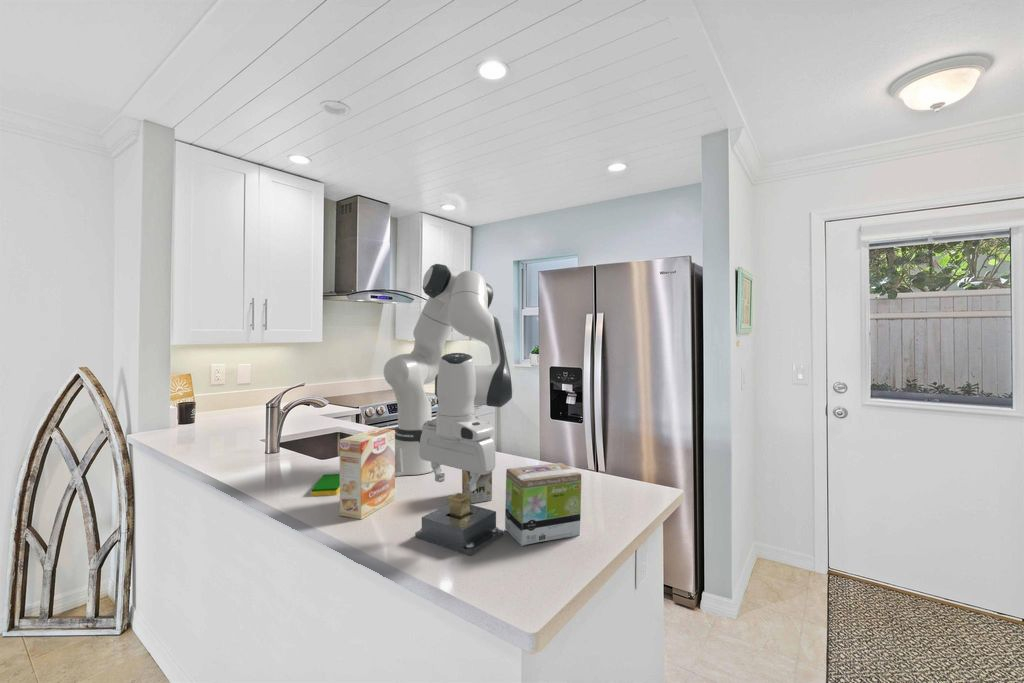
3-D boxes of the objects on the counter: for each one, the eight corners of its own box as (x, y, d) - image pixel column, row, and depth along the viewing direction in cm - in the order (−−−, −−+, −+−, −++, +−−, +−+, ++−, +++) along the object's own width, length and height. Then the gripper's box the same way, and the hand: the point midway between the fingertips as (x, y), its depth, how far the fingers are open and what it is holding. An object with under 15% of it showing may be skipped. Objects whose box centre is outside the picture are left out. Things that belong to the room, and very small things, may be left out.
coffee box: (493, 500, 130) (493, 442, 129) (471, 504, 127) (470, 444, 127) (481, 489, 138) (481, 435, 138) (460, 493, 136) (460, 437, 135)
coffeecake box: (361, 520, 117) (361, 441, 116) (338, 516, 119) (337, 439, 118) (396, 499, 131) (396, 429, 130) (375, 496, 133) (374, 427, 132)
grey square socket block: (415, 536, 107) (415, 515, 107) (450, 519, 117) (450, 499, 117) (470, 555, 98) (470, 532, 98) (503, 534, 108) (503, 513, 108)
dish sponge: (347, 480, 148) (347, 473, 147) (337, 496, 134) (337, 488, 134) (323, 481, 147) (323, 474, 146) (311, 498, 133) (310, 489, 133)
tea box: (522, 548, 102) (522, 480, 101) (504, 529, 111) (504, 467, 111) (581, 536, 108) (582, 472, 107) (560, 519, 117) (560, 460, 117)
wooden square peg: (448, 532, 107) (447, 497, 107) (458, 526, 110) (458, 492, 110) (461, 536, 105) (460, 500, 105) (471, 530, 108) (471, 495, 108)
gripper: (413, 421, 110) (412, 479, 111) (482, 434, 99) (481, 499, 99) (432, 417, 115) (431, 473, 116) (500, 429, 104) (498, 491, 104)
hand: (455, 485), depth 107 cm, fingers open, 8 cm apart
